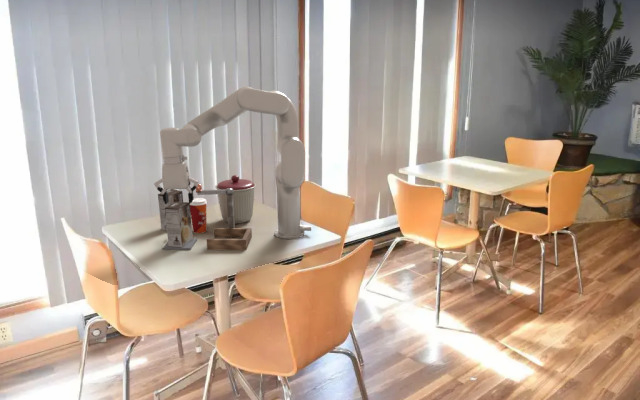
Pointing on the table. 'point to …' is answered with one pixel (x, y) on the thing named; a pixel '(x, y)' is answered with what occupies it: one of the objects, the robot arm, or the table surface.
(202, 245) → the table surface
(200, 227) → the paper cup
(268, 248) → the table surface
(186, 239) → the coffee box
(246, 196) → the canister
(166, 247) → the mat
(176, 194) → the coffee box
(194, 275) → the table surface
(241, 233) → the wooden planter box
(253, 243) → the table surface
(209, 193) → the lever
